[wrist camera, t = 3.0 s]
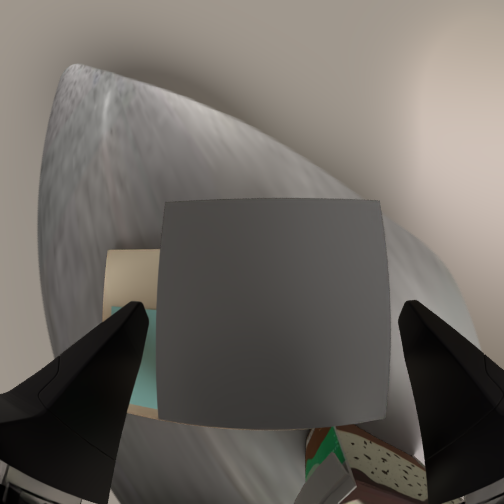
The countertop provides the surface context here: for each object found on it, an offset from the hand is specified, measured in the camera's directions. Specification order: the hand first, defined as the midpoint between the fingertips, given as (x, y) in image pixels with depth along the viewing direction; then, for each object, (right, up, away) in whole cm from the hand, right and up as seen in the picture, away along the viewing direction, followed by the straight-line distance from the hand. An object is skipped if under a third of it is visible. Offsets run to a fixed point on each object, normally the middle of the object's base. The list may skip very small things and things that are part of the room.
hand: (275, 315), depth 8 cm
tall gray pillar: (0, -2, +6) cm, 7 cm away
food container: (+6, -13, +5) cm, 15 cm away
